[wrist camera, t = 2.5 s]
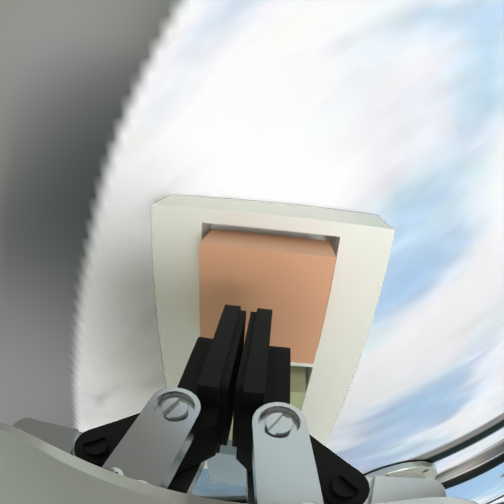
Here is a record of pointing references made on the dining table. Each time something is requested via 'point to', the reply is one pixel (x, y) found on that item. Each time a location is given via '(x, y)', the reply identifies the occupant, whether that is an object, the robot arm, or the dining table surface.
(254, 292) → the terracotta key
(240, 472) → the slate blue key
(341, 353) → the keypad
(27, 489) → the robot arm
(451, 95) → the dining table surface
